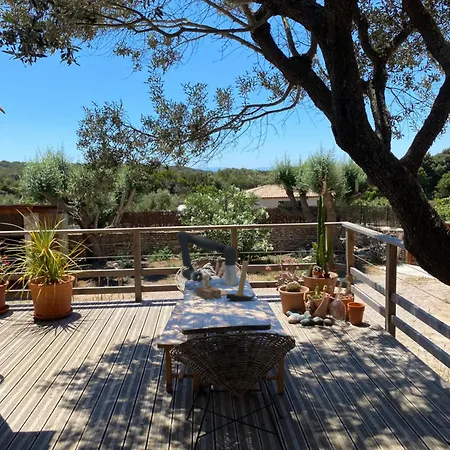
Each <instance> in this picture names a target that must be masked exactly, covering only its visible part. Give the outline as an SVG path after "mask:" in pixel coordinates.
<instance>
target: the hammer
mask: <svg viewBox="0 0 450 450" xmlns="http://www.w3.org/2000/svg"><path fill="white" fill-rule="evenodd" d="M248 267H249V261H247V260H243V261H242V264H241V270H240V271H241V272H240V277H239V282H238V289H237V293H229V294H227V295H225V296H226V297H225V299H226V300H227V299H229V301H233V302H251V301H252V300H253V299H254V298H255V294H253V295H250V296H249V295H245V294H244V292H245V291H244V290H245V286H246V285H245V284H246V280H247V279H246V278H247V273H248Z"/></svg>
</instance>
